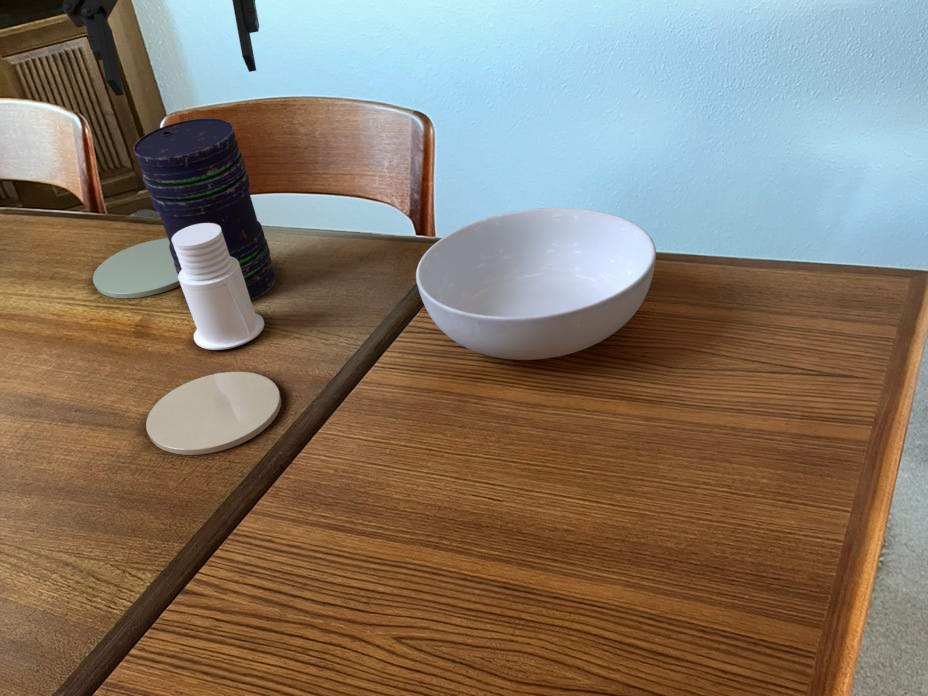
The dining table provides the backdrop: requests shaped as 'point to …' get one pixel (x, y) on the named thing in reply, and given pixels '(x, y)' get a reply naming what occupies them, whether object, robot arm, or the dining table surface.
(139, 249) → the far coaster
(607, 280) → the serving bowl
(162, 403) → the near coaster
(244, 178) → the storage jar
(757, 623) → the dining table surface
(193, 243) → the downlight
